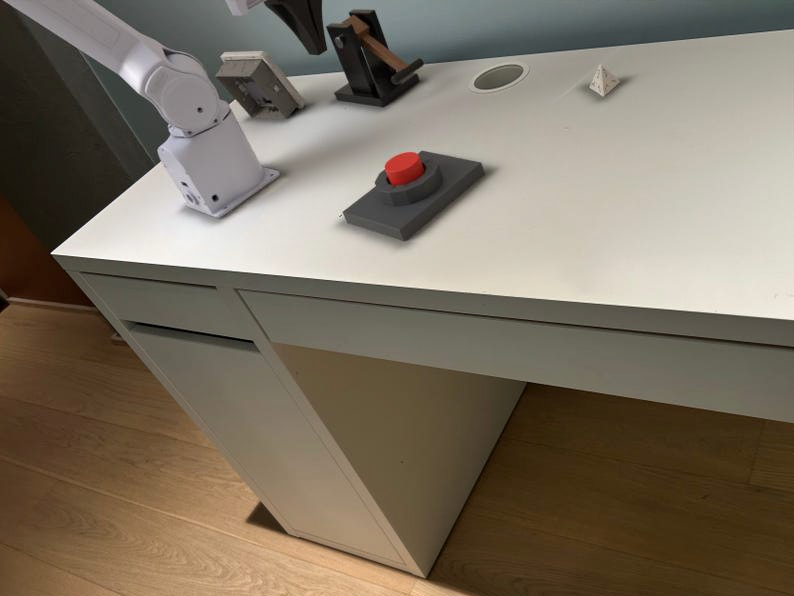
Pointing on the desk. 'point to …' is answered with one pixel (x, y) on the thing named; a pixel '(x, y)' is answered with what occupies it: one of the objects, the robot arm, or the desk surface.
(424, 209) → the button box
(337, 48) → the bracket
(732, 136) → the desk surface
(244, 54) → the electrical switch
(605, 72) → the tetrahedral die
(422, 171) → the button
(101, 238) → the desk surface
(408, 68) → the lever
